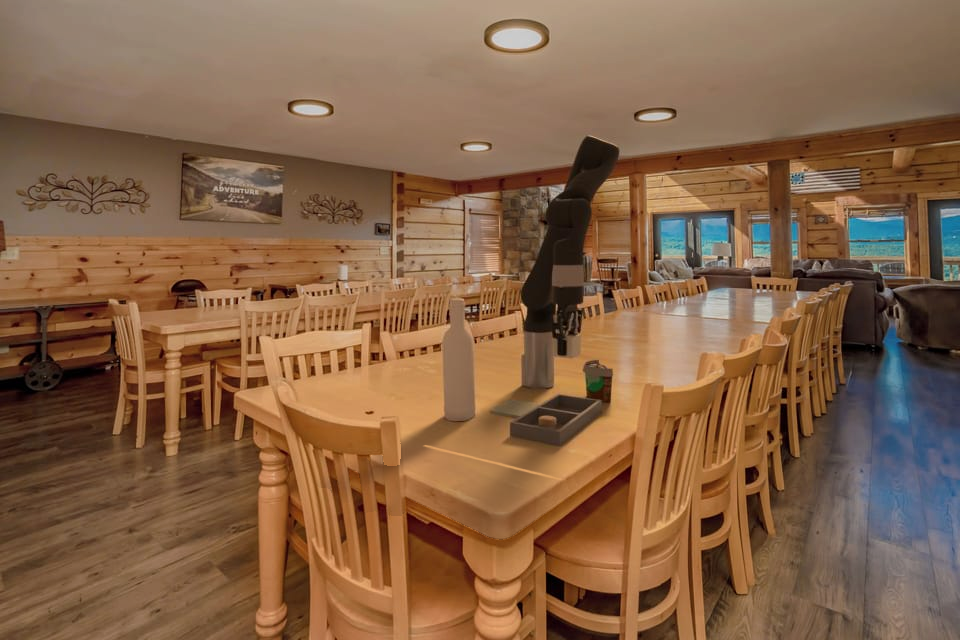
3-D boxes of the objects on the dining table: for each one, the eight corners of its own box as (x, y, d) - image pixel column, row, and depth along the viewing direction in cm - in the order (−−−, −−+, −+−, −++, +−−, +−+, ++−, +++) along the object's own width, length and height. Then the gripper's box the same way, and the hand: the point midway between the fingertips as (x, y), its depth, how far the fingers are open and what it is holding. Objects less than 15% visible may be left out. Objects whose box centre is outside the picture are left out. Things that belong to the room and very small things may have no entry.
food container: (577, 393, 143) (577, 360, 142) (597, 392, 143) (598, 359, 142) (590, 406, 131) (590, 369, 129) (612, 405, 131) (613, 368, 130)
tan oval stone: (535, 432, 111) (535, 419, 111) (543, 427, 115) (543, 414, 114) (551, 435, 109) (551, 422, 109) (559, 430, 112) (559, 417, 112)
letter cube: (553, 356, 120) (553, 335, 119) (561, 352, 124) (562, 332, 123) (572, 358, 117) (572, 337, 116) (580, 354, 121) (580, 334, 120)
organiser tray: (510, 437, 110) (509, 422, 109) (558, 406, 131) (558, 393, 131) (559, 447, 103) (559, 431, 103) (601, 413, 125) (601, 400, 124)
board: (489, 414, 126) (489, 410, 126) (510, 403, 135) (510, 399, 135) (527, 421, 120) (527, 417, 120) (547, 409, 129) (547, 405, 129)
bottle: (481, 418, 123) (479, 298, 119) (454, 424, 119) (450, 301, 115) (465, 409, 130) (462, 297, 126) (438, 415, 126) (435, 298, 122)
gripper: (565, 282, 126) (564, 347, 128) (540, 285, 114) (539, 357, 116) (593, 282, 122) (592, 350, 124) (570, 286, 110) (568, 360, 112)
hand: (566, 353), depth 120 cm, fingers closed on letter cube, 5 cm apart
